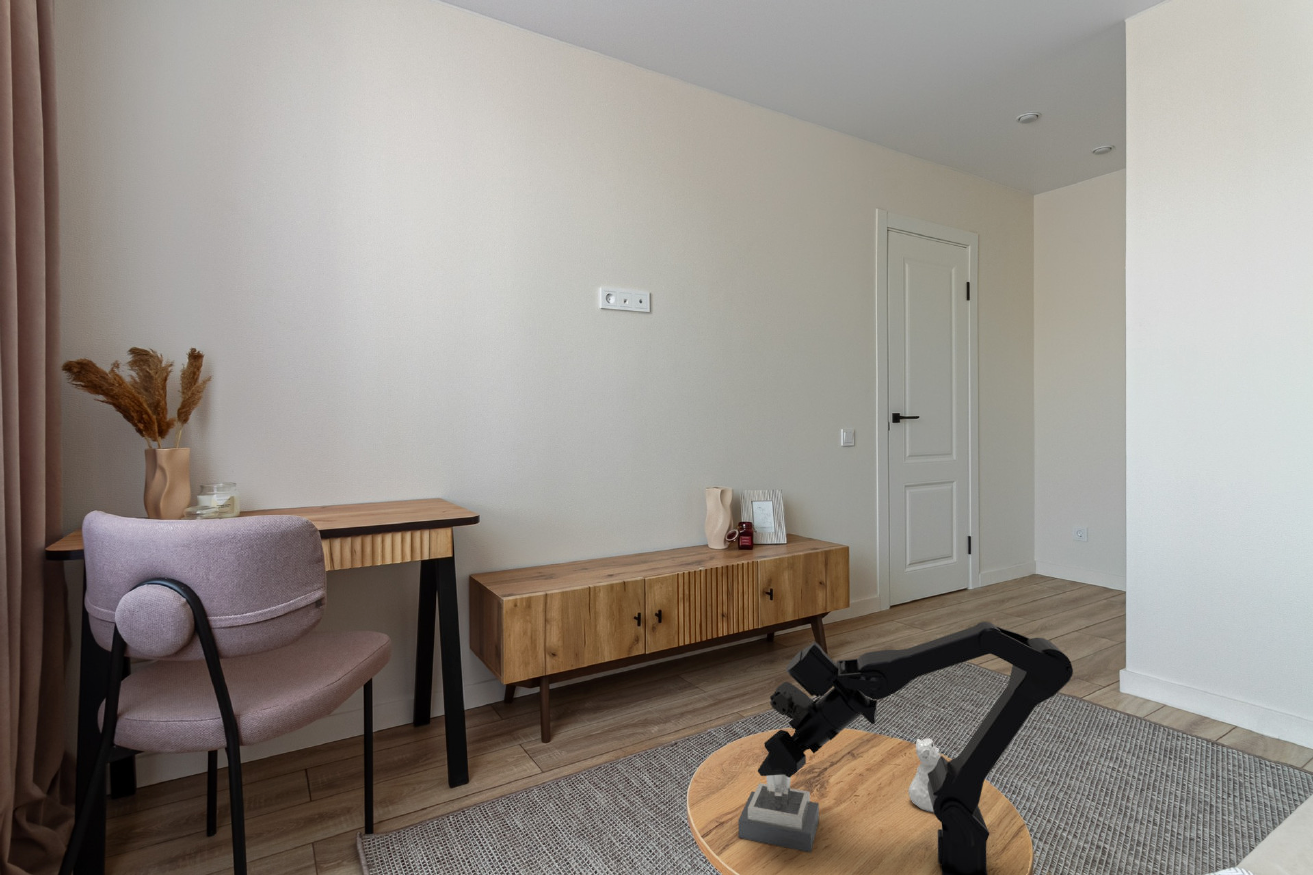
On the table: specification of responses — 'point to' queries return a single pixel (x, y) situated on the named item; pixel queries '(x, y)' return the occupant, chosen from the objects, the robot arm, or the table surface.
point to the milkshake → (778, 792)
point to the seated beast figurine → (923, 773)
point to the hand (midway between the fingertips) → (771, 762)
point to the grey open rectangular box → (780, 820)
